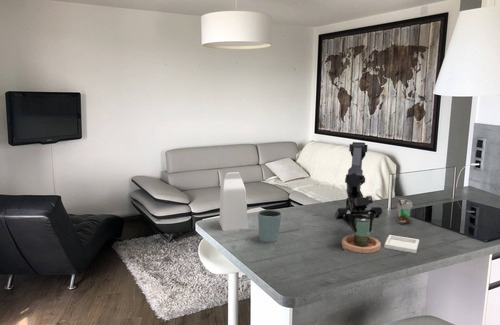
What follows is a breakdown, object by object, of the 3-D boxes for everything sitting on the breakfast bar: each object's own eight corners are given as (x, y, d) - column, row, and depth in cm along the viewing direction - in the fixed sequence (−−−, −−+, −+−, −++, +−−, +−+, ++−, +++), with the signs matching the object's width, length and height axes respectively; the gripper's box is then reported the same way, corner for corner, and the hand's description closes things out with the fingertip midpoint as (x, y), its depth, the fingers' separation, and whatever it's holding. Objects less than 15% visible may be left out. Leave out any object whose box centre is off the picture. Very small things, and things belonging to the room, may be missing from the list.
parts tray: (384, 250, 162) (384, 244, 162) (388, 240, 173) (389, 234, 172) (415, 255, 157) (416, 249, 157) (418, 245, 167) (419, 239, 167)
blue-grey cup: (254, 236, 177) (254, 210, 175) (274, 233, 181) (274, 208, 179) (264, 244, 168) (264, 217, 166) (285, 241, 172) (285, 214, 170)
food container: (413, 225, 191) (415, 205, 189) (400, 224, 192) (401, 204, 191) (408, 217, 203) (410, 198, 201) (396, 216, 204) (397, 197, 202)
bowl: (338, 250, 162) (338, 244, 161) (347, 238, 175) (347, 232, 174) (376, 258, 155) (376, 251, 154) (382, 244, 168) (383, 238, 167)
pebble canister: (351, 244, 163) (353, 219, 161) (355, 239, 169) (356, 214, 166) (367, 247, 160) (368, 221, 158) (370, 242, 166) (371, 217, 164)
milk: (222, 230, 185) (221, 176, 180) (219, 222, 196) (218, 170, 191) (248, 228, 187) (247, 174, 182) (243, 220, 198) (243, 169, 193)
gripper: (338, 189, 163) (345, 224, 155) (382, 188, 165) (392, 222, 156) (332, 202, 173) (338, 235, 164) (374, 201, 174) (382, 234, 165)
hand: (362, 231), depth 162 cm, fingers closed on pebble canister, 6 cm apart
